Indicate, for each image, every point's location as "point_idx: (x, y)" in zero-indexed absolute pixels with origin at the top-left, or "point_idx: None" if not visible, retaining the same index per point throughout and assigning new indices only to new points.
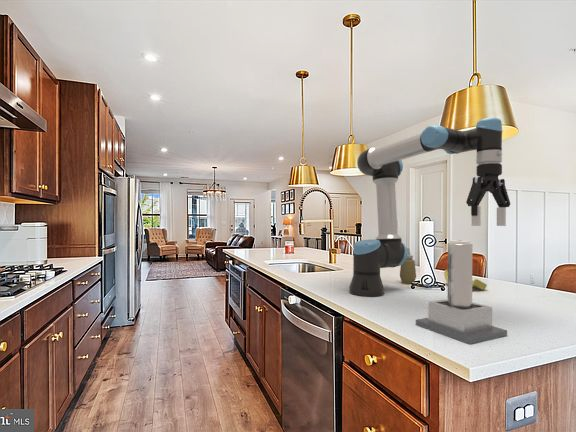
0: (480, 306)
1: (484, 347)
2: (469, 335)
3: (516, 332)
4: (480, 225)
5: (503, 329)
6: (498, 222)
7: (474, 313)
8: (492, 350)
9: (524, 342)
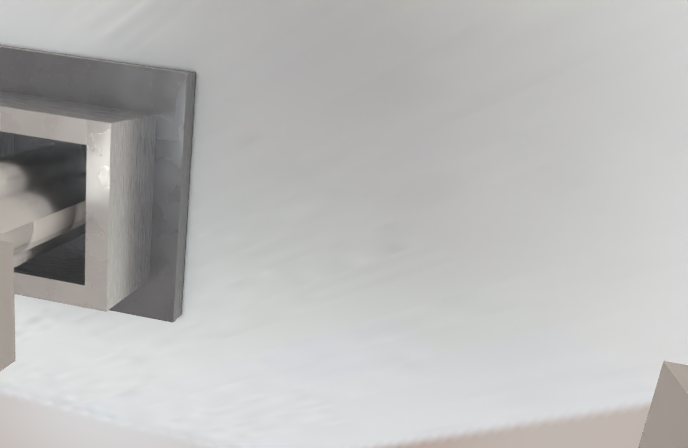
0: (86, 270)
1: None
2: None
3: (251, 320)
4: (9, 362)
5: (170, 311)
6: (677, 427)
7: None
8: None
9: (165, 371)
